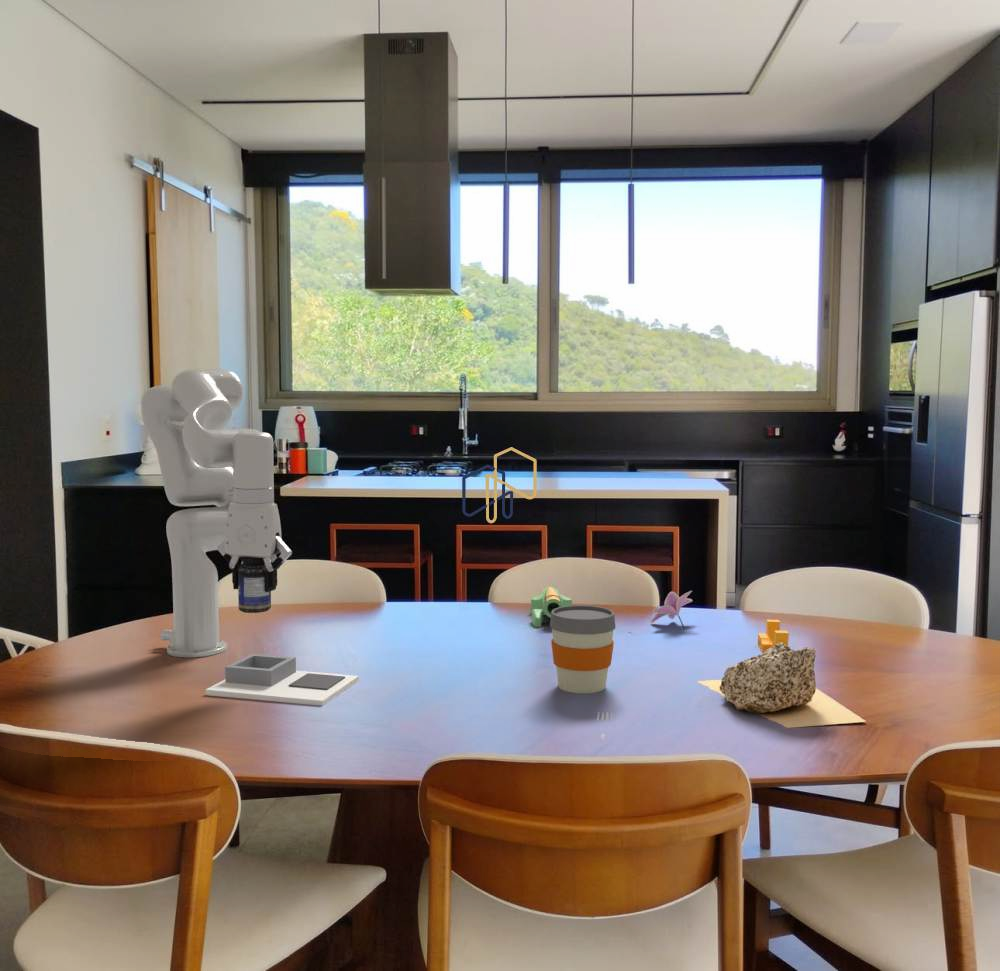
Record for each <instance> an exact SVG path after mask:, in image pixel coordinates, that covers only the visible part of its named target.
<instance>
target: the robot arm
mask: <svg viewBox="0 0 1000 971" xmlns="http://www.w3.org/2000/svg"><path fill="white" fill-rule="evenodd" d="M243 393H244V388H243V384H242V381H241V380H240V378H239V376H238V374H236V373H235V372H233V371H232V370H228V369H206V368H205V369H203V368H201V369H200V368H199V369H198V368H196V369H195V368H193V369H192V368H190V369H186V370H184V371H181V372H179V373H177V375H175V377H174V378H173V380H172V382H171V384H162V385H156V386H153V387H152V386H151V387H150V388H148V389H146V390H145V391H144V393H142V397H141V403H140V410H141V418H142V422H143V426H144V428H145V431H146V432H147V435H148V436H149V439H150V440H151V443H152V444H153V446H154V449H155V451H156V455H157V458H158V464H159V468H160V473H161V478H162V483H163V488H164V491H165V495H166V497H167V500H168V502H169V503H170V504H171V505H174V506H177V507H196V506H207V507H196V508H186V509H185V508H184V509H182V510H177V511H175V512H173V513H172V514H171V515H170V516H169V517H168V518H167V520H166V526H165V528H166V530H165V531H166V538H167V542H168V547H169V553H170V559H171V561H170V562H171V577H172V579H171V580H172V581H171V583H172V603H173V604H172V605H173V606H172V608H173V610H172V611H173V612H172V613H173V630H172V629H162V631H161V634H160V635H159V639H160V640H161V641H169V645H168V646H167V647H166V653H167V654H168V655H169V656H172V657H175V658H183V657H184V658H188V659H191V658H204V657H209V656H210V657H211V656H215V655H218V654H222V653H223V652H225V651H226V650H227V648H228V644H227V642H226V641H225V640H222V639H220V622H219V621H220V618H219V617H220V615H219V612H220V611H219V575H218V570H217V566H216V565H215V564H214V563H213V561H212V560H211V559H210V558H209V557H208V555H207V554H206V553H207V552H213V551H218V552H219V553H220V554H221V556H223V558H224V560H225V561H226V562H227V564H228V566H229V568H230V569H231V574H232V575H231V576H232V577H231V581H232V582H231V583H232V585H233V586H232V588H233V590H238V569H239V568H240V567H241V566H242V565H243V562H242V556H243V557H256V558H263V559H264V562H265V565H266V567H267V571H266V572H265V591H266V592H270V591H271V592H272V591H275V590H276V589H277V586H278V570H280V568H281V566H282V565H283V564H284V563H285V562H286V561H287V560H288V558H290V557H291V556H292V554H293V551H292V550H291V548H289V546H288V545H287V544H286V543H285V541H283V539H282V526H281V519H280V513H279V512H280V511H279V509H278V504H277V503H275V485H274V484H275V482H274V480H275V479H274V478H275V477H274V472H275V470H274V469H275V468H274V465H275V464H274V463H275V462H274V459H275V458H274V438H273V435H271V434H270V432H269V433H268V432H264V431H259V430H257V429H254V428H225V427H226V426H227V425H228V424H229V423H230V421H231V420H232V416H233V412H234V411H236V409H237V408H238V407H239V406H240V404H241V402H242V400H243V396H244V394H243ZM179 423H181V424H182V423H183V425H182V428H181V427H180V426H178V424H179ZM212 505H213V507H212ZM208 506H211V507H208ZM279 554H280V555H279ZM277 555H279V556H278V557H277ZM184 658H183V659H184Z"/></svg>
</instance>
